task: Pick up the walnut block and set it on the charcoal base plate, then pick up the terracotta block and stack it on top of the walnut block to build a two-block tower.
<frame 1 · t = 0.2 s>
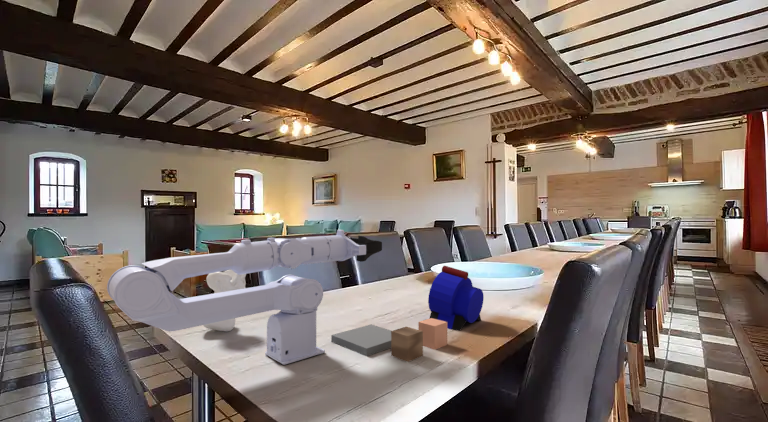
hand: (370, 244, 88), 21 cm above the table, tool horizontal, fingers open, 7 cm apart
base plate: (369, 341, 82), on the table
walnut block: (407, 356, 73), on the table
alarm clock: (457, 323, 97), on the table
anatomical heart: (225, 331, 90), on the table
terracotta block: (432, 344, 80), on the table
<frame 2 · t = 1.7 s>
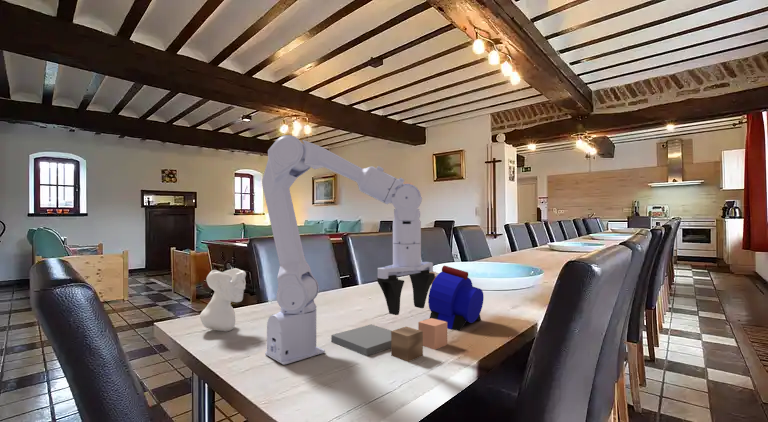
hand: (407, 310, 74), 9 cm above the table, tool pointing down, fingers open, 7 cm apart
nothing on the table moved.
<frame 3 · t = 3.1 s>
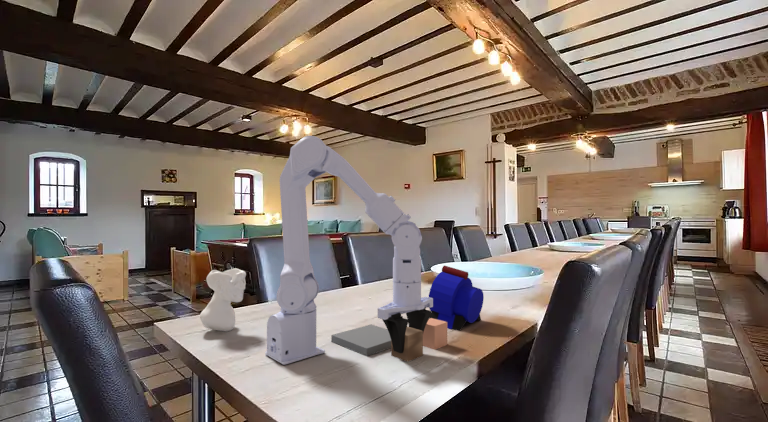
hand: (407, 348, 73), 1 cm above the table, tool pointing down, fingers closed on walnut block, 4 cm apart
walnut block: (407, 355, 73), on the table, touching gripper
everything else where it was.
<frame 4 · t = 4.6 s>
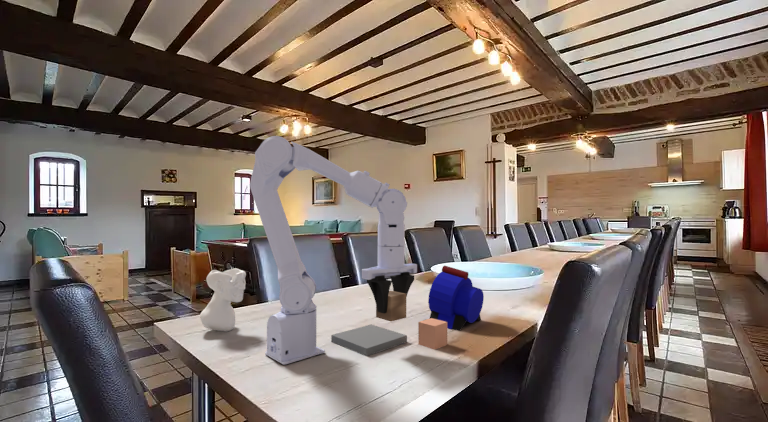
hand: (390, 310, 77), 8 cm above the table, tool pointing down, fingers closed on walnut block, 4 cm apart
walnut block: (391, 317, 77), point 7 cm above the table, touching gripper
everything else where it was.
when the fingers open (4 cm above the table, at t = 6.3 s): walnut block stays where it is, resting on base plate.
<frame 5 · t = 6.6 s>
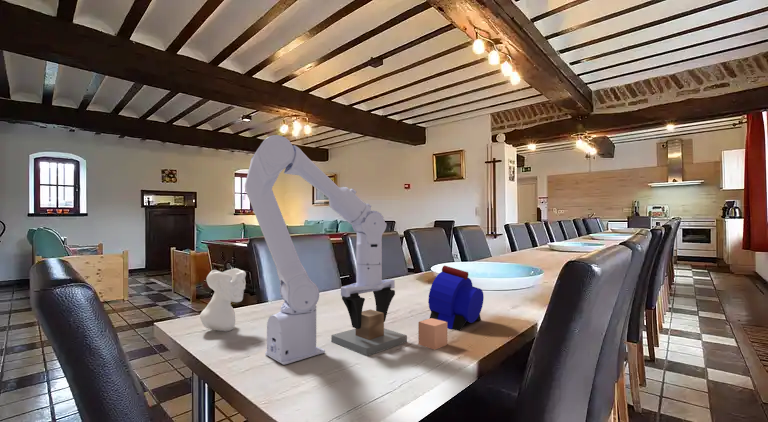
hand: (369, 324, 82), 4 cm above the table, tool pointing down, fingers open, 7 cm apart
walnut block: (369, 335, 81), point 1 cm above the table, touching base plate
everything else where it was.
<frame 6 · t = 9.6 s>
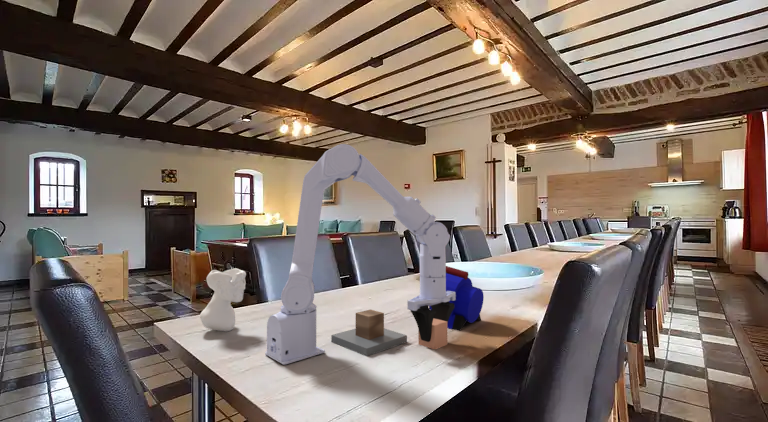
hand: (432, 337, 80), 1 cm above the table, tool pointing down, fingers closed on terracotta block, 4 cm apart
terracotta block: (432, 344, 80), on the table, touching gripper
everything else where it was.
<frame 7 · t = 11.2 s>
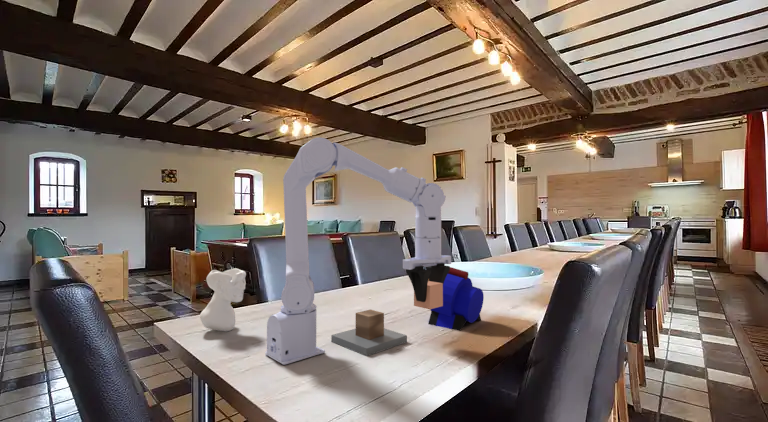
hand: (428, 299, 80), 10 cm above the table, tool pointing down, fingers closed on terracotta block, 4 cm apart
terracotta block: (428, 305, 80), point 8 cm above the table, touching gripper
everything else where it was.
when the fingers open (9 cm above the table, at t = 13.0 s): terracotta block stays where it is, resting on walnut block.
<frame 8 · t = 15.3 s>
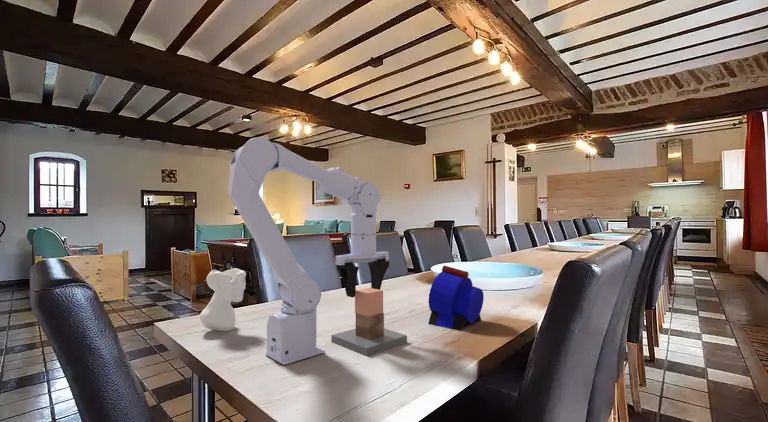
hand: (363, 294, 83), 10 cm above the table, tool pointing down, fingers open, 7 cm apart
walnut block: (369, 335, 81), point 1 cm above the table, touching base plate, terracotta block
terracotta block: (369, 312, 82), point 6 cm above the table, touching walnut block
everything else where it was.
at the end: walnut block 0.2 cm off-centre on the base plate, point 1.5 cm above the base plate's base; terracotta block 0.0 cm off-centre on the base plate, point 6.5 cm above the base plate's base; terracotta block tilted 0° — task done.
